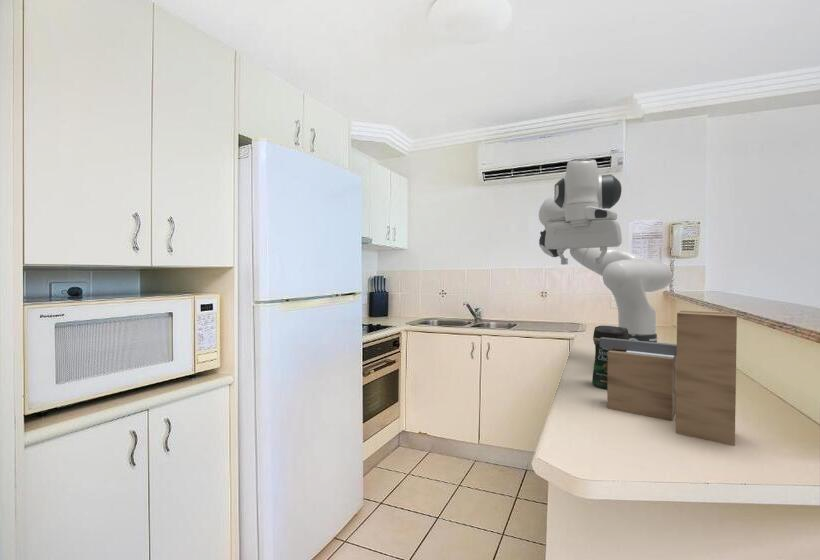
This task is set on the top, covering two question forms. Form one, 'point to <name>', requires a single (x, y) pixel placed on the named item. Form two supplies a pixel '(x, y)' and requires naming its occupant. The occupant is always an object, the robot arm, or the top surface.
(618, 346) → the marker
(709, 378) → the walnut stand
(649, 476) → the top surface
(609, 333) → the coffee jar
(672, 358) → the notepad
